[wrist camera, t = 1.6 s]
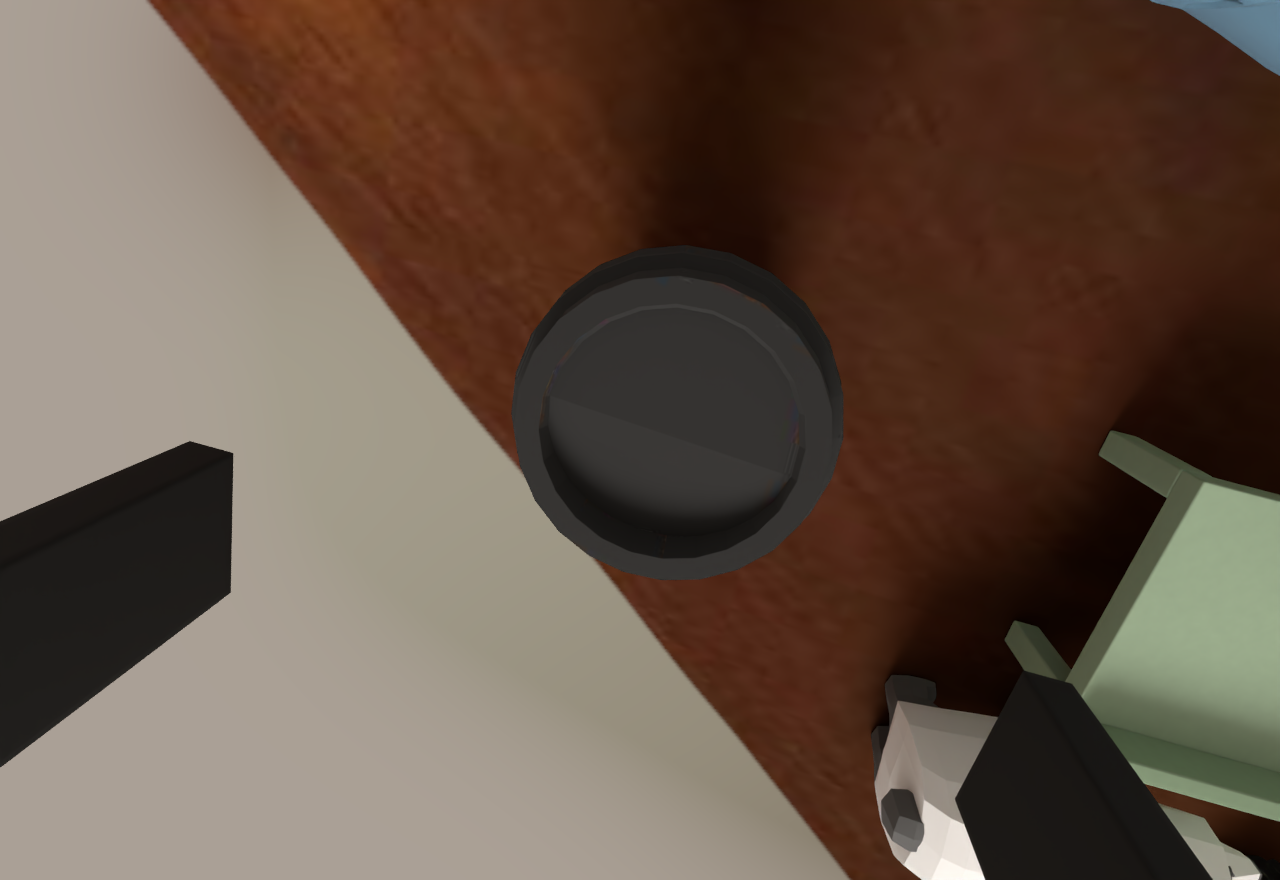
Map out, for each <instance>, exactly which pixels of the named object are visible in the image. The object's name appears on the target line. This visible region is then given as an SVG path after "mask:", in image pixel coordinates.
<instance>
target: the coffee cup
mask: <svg viewBox="0 0 1280 880" xmlns="http://www.w3.org/2000/svg"><path fill="white" fill-rule="evenodd" d="M511 414H512V420H513V427H514V433H515V440H516V446H517V453H518V456H519V462H520V467H521V469H522V471H523V474H524V476H525V478H526V481H527V483H528V485H529V487H530V490H531V492H532V494H533V497H534V499H535V501H536V502H537V504H538V505H539V506H540V507H541V509H542V510H543V511H544V513H545V514H546V515H547V517H548V518H549V519H550V521H551V522H552V523H553V524H554V526H555V527H556V528H557V530H558V531H559V532H560V533H562V534H563V535H564V536H565V537H567V538H568V539H569V540H570V541H572V542H573V543H574V544H576V545H577V546H578V547H579V548H580V549H582V550H583V551H584V552H585V553H587V554H588V555H589V556H591V557H593V558H596V559H598V560H600V561H602V562H604V563H606V564H608V565H610V566H612V567H614V568H617V569H619V570H621V571H623V572H627V573H631V574H636V575H641V576H645V577H650V578H654V579H659V580H690V579H703V578H707V577H711V576H715V575H719V574H723V573H726V572H730V571H734V570H738V569H740V568H742V567H743V566H745V565H747V564H749V563H751V562H753V561H754V560H756V559H758V558H760V557H762V556H764V555H765V554H767V553H769V552H771V551H772V550H774V549H775V548H776V547H777V546H778V545H779V544H780V543H781V542H782V541H783V540H784V539H785V538H786V537H787V536H788V535H790V534H791V533H792V532H793V531H794V530H795V529H796V528H797V527H798V526H799V525H800V524H801V523H802V521H803V520H804V519H805V518H806V517H807V516H808V515H809V514H810V513H811V511H812V509H813V508H814V506H815V504H816V503H817V501H818V500H819V498H820V496H821V495H822V493H823V491H824V490H825V488H826V487H827V485H828V483H829V482H830V480H831V479H832V475H833V472H834V468H835V465H836V461H837V458H838V454H839V451H840V447H841V444H842V440H843V392H842V388H841V380H840V377H839V373H838V370H837V366H836V363H835V359H834V356H833V352H832V349H831V346H830V342H829V340H828V338H827V337H826V335H825V333H824V332H823V330H822V329H821V327H820V325H819V324H818V322H817V321H816V319H815V318H814V316H813V314H812V313H811V311H810V310H809V308H808V306H807V305H806V303H805V302H804V301H802V300H801V299H800V298H799V297H798V296H797V295H796V294H795V293H793V292H792V291H791V290H790V289H789V288H788V287H787V286H786V285H785V284H783V283H782V282H781V281H780V280H779V279H778V278H777V277H776V276H775V275H773V274H772V273H770V272H768V271H766V270H764V269H762V268H760V267H758V266H756V265H754V264H752V263H750V262H748V261H746V260H744V259H742V258H740V257H738V256H736V255H734V254H732V253H727V252H722V251H716V250H711V249H705V248H700V247H694V246H689V245H681V246H670V247H659V248H648V249H640V250H638V251H635V252H632V253H630V254H627V255H624V256H622V257H619V258H617V259H614V260H611V261H609V262H606V263H603V264H601V265H599V266H598V267H596V268H595V269H594V270H592V271H591V272H590V273H588V274H587V275H586V276H584V277H583V278H582V279H580V280H579V281H577V282H576V283H575V284H573V285H572V286H571V287H569V288H568V289H567V290H565V292H564V293H563V294H562V296H561V297H560V298H559V299H558V300H557V302H556V303H555V304H554V305H553V307H552V308H551V309H550V311H549V312H548V313H547V315H546V316H545V317H544V318H543V320H542V321H541V322H540V324H539V325H538V326H537V327H536V329H535V330H534V331H533V333H532V334H531V337H530V339H529V342H528V344H527V347H526V349H525V351H524V354H523V356H522V359H521V361H520V364H519V366H518V369H517V371H516V377H515V386H514V395H513V404H512V413H511Z"/></svg>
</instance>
